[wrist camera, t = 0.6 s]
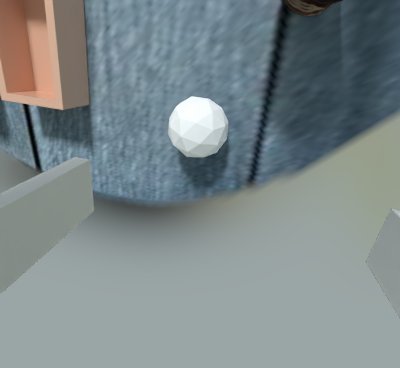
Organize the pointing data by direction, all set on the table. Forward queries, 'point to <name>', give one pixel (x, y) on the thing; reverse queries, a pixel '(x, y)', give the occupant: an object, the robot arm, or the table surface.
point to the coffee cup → (309, 6)
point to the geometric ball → (198, 127)
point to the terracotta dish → (43, 53)
